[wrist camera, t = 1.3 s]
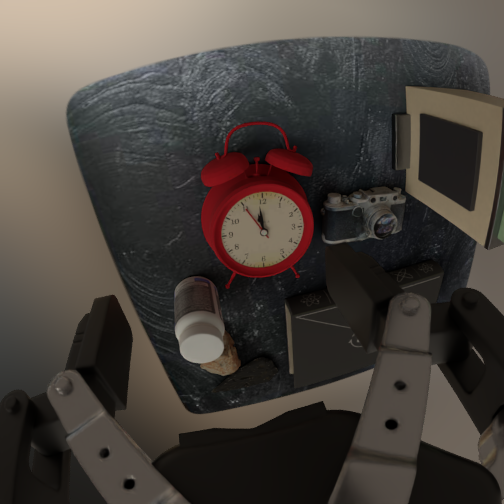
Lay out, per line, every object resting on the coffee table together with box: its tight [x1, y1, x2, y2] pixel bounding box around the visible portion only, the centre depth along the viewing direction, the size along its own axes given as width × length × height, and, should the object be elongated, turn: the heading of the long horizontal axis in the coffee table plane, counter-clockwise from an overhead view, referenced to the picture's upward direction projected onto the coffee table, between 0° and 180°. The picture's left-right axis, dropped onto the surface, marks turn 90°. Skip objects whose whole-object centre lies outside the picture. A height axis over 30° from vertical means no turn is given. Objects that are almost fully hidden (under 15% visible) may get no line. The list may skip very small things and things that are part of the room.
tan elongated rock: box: [200, 330, 241, 376], centre depth 39 cm, size 10×4×5 cm
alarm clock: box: [201, 122, 314, 289], centre depth 29 cm, size 10×6×15 cm
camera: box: [321, 186, 406, 244], centre depth 32 cm, size 5×10×4 cm, turn 94°
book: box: [285, 260, 444, 388], centre depth 41 cm, size 22×15×3 cm
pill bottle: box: [174, 276, 225, 363], centre depth 31 cm, size 5×5×8 cm
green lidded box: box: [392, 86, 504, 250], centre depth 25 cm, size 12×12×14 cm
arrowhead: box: [212, 357, 278, 393], centre depth 43 cm, size 6×1×10 cm
